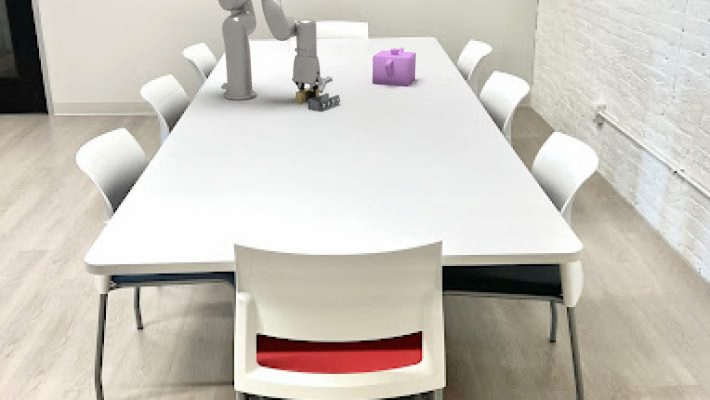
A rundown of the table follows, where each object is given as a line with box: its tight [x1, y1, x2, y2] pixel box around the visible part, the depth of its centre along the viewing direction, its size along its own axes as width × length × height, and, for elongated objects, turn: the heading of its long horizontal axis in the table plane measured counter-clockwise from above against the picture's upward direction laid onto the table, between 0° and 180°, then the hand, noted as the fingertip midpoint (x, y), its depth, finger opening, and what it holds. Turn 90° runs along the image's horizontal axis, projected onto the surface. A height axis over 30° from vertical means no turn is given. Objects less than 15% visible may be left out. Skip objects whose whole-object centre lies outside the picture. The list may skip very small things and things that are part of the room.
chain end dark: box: [307, 95, 331, 112], centre depth 280 cm, size 7×6×4 cm
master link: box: [295, 86, 320, 105], centre depth 290 cm, size 2×12×5 cm, turn 147°
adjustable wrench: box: [319, 75, 333, 94], centre depth 312 cm, size 25×6×2 cm, turn 171°
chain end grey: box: [319, 92, 341, 108], centre depth 284 cm, size 7×5×4 cm
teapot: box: [371, 47, 417, 87], centre depth 318 cm, size 15×25×14 cm, turn 162°
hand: (307, 99), depth 291 cm, fingers open, 4 cm apart
